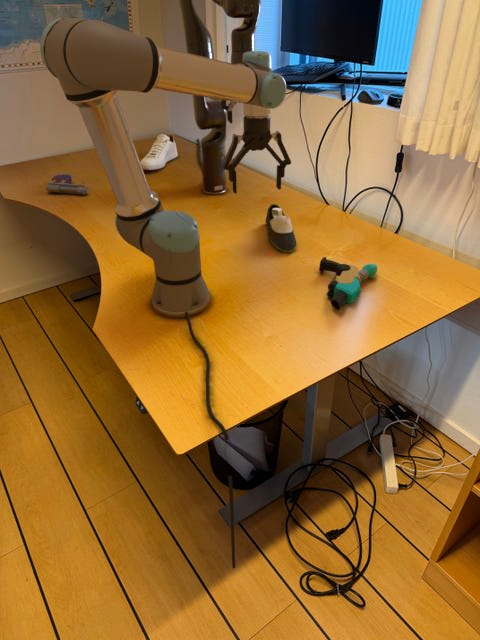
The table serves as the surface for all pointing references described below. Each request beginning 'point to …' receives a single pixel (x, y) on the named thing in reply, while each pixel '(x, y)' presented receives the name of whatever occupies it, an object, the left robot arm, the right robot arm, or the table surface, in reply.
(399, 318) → the table surface
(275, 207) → the ballet flat
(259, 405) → the table surface
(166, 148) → the sneaker
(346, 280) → the toy gun
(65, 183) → the toy gun
